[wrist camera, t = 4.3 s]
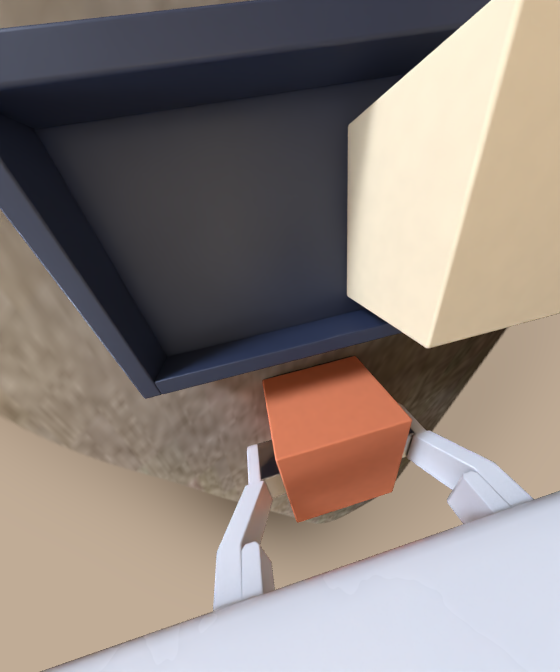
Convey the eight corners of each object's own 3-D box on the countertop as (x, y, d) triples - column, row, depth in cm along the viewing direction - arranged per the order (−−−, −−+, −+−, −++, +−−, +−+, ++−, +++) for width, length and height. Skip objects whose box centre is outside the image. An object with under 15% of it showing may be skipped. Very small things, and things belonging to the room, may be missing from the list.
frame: (555, 30, 6) (691, -52, 4) (468, 288, 10) (518, 303, 8) (6, 107, 5) (-131, 39, 3) (162, 364, 9) (144, 400, 7)
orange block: (261, 379, 10) (275, 460, 7) (355, 355, 10) (413, 419, 7) (280, 444, 13) (297, 523, 10) (352, 423, 13) (392, 492, 10)
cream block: (530, 93, 6) (930, -82, 3) (474, 265, 8) (634, 294, 5) (346, 124, 5) (531, -38, 2) (346, 296, 8) (427, 350, 5)
